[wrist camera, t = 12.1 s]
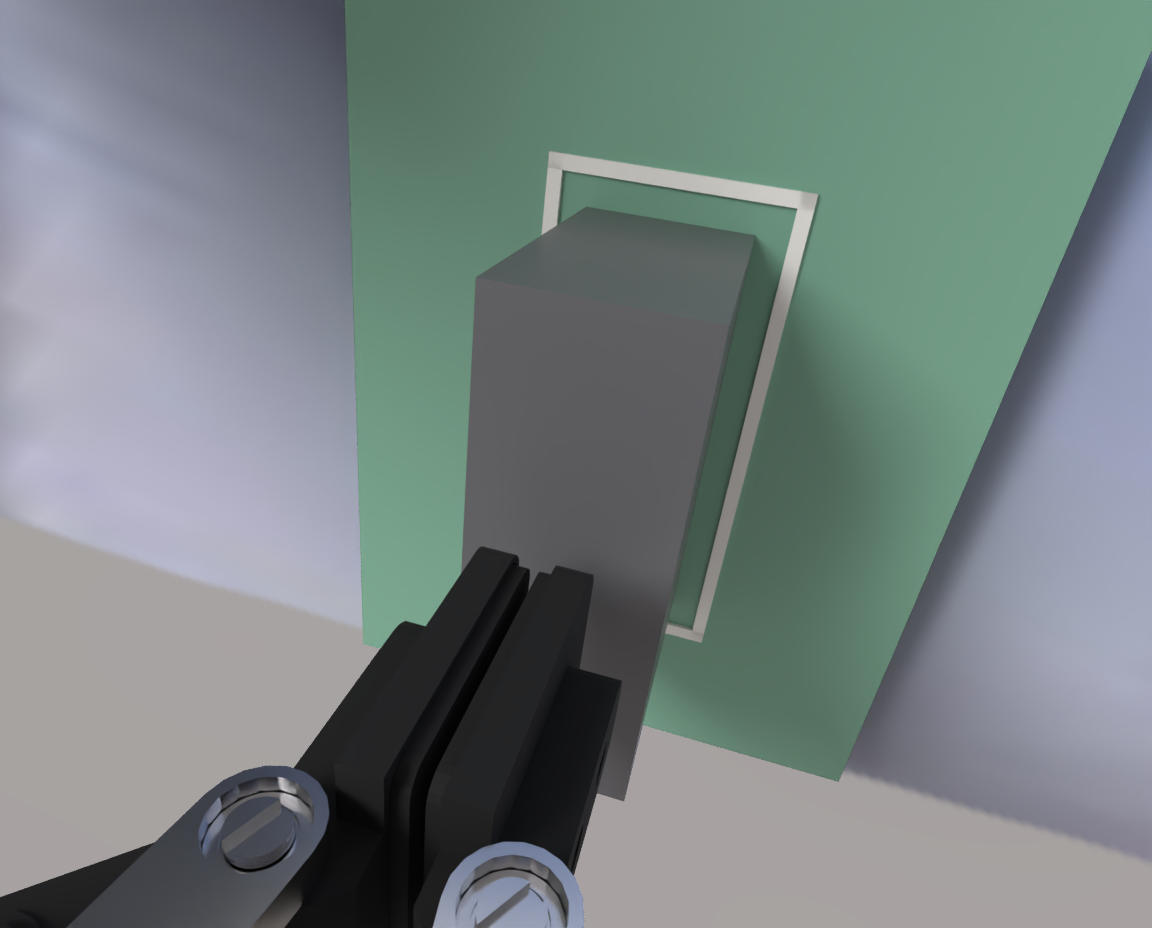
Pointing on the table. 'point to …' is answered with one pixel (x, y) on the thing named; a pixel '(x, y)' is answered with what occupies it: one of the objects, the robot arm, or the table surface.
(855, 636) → the header board
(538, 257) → the block
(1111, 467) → the table surface
